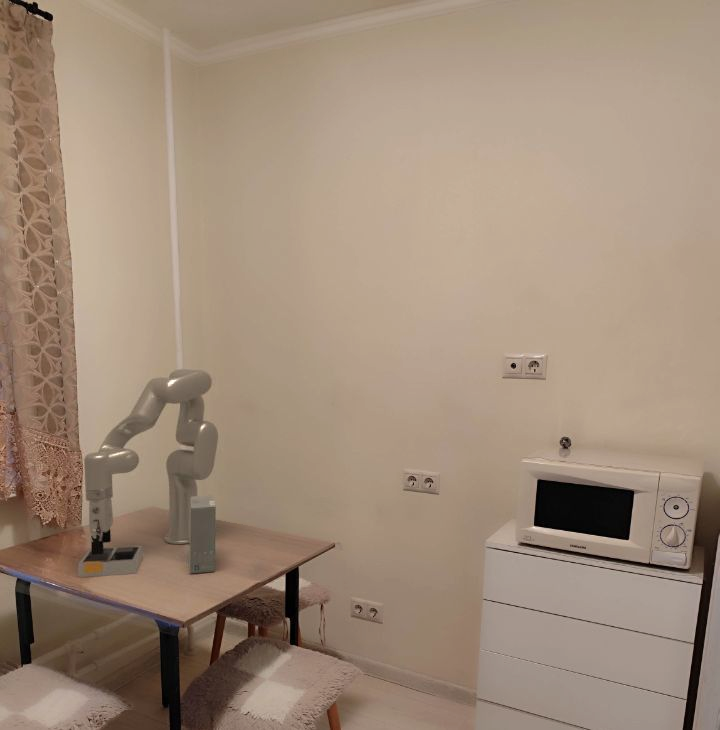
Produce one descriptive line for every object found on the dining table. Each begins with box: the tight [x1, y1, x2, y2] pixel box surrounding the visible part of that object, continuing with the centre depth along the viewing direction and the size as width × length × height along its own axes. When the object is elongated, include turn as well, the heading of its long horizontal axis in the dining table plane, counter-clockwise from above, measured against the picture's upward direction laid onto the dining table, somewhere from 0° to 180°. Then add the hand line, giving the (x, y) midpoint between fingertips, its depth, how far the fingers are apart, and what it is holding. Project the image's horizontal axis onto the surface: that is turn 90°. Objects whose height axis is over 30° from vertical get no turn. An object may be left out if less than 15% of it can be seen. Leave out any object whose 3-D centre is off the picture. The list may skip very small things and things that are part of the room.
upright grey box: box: [92, 547, 112, 561], centre depth 177 cm, size 5×4×4 cm
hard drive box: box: [188, 494, 217, 574], centre depth 180 cm, size 16×8×20 cm, turn 17°
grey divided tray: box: [77, 545, 144, 578], centre depth 177 cm, size 16×13×5 cm
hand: (101, 547), depth 177 cm, fingers open, 9 cm apart
